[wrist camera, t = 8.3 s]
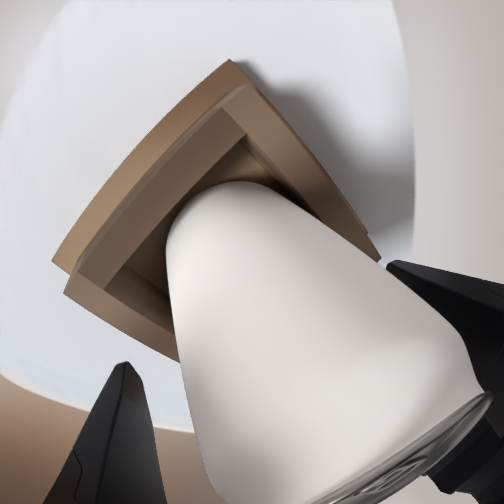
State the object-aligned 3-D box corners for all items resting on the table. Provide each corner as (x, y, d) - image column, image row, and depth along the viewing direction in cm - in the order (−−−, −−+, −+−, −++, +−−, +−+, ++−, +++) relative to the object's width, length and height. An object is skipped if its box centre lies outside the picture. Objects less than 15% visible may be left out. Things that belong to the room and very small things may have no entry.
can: (230, 148, 12) (523, 319, 2) (318, 234, 15) (503, 398, 5) (137, 259, 13) (157, 557, 3) (236, 321, 16) (336, 527, 6)
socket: (358, 226, 17) (401, 254, 14) (221, 357, 19) (237, 405, 15) (224, 62, 11) (251, 42, 8) (56, 252, 12) (31, 295, 9)
